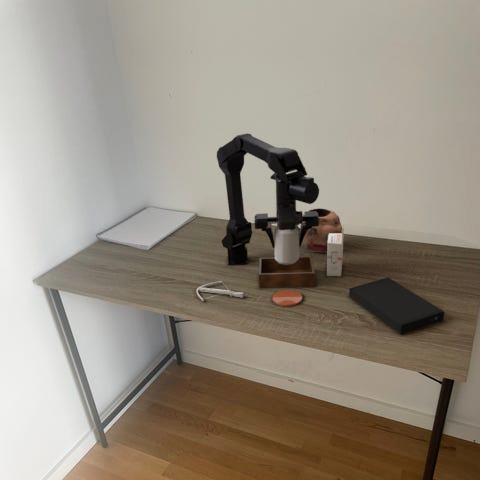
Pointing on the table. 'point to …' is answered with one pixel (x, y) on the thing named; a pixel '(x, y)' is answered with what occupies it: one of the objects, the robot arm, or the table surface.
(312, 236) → the decorative planter
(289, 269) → the wooden tray
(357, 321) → the table surface
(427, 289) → the table surface
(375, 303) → the external hard drive
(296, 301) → the coaster
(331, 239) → the ink cartridge box
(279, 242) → the can
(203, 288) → the crossbow
